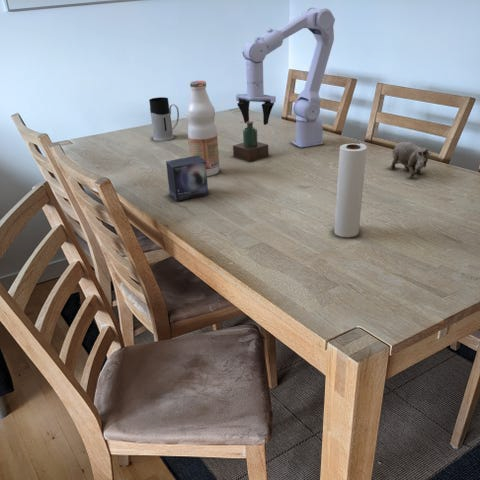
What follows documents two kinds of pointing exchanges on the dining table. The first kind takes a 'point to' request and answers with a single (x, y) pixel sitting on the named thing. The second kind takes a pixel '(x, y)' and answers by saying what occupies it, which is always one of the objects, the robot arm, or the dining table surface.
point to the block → (250, 151)
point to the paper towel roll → (350, 189)
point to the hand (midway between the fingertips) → (256, 123)
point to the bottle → (250, 135)
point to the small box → (187, 177)
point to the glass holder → (162, 118)
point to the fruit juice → (202, 127)
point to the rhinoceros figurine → (410, 157)
